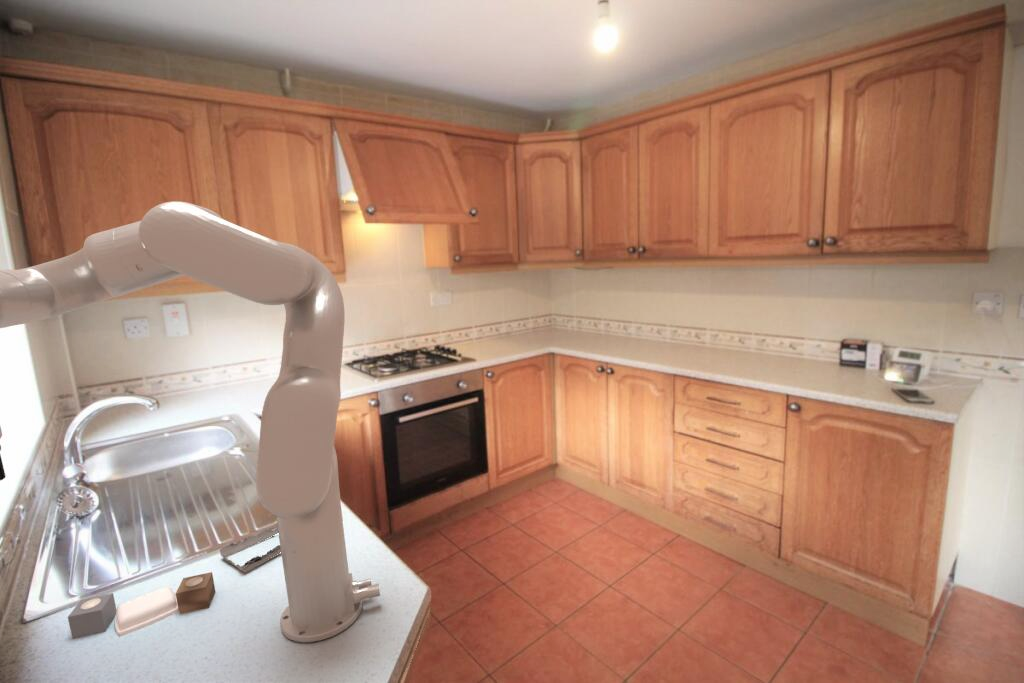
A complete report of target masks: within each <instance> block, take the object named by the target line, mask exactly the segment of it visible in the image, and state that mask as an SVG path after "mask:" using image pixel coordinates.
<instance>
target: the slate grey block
mask: <svg viewBox="0 0 1024 683" xmlns="http://www.w3.org/2000/svg"><path fill="white" fill-rule="evenodd" d="M116 610H117V606H116V600H115V597H114V593H113V592H112V593H108V594H102V595H97V596H93V597H87V598H83V599H81V600H79V602H78V603H77V604H76V606H75V607H74V608H73V610H72V611H71V612H70V613H69V615H68V616H67V620H68V626H69V630H70V634H71V639H72V640H73V639H77V638H82V637H88V636H91V635H96V634H100V633H106V632H107V630H108V628H109V627H110V625H112V623H113V622H114V619H115V615H116Z"/></svg>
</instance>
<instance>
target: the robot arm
mask: <svg viewBox="0 0 1024 683" xmlns="http://www.w3.org/2000/svg"><path fill="white" fill-rule="evenodd" d="M182 277H188V278H191V279H193V280H195V281H198V282H201V283H202V284H206V285H209V286H211V287H214V288H217V289H219V290H222V291H224V292H228V293H230V294H232V295H235V296H238V297H240V298H243V299H245V300H248V301H251V302H253V303H256V304H257V303H258V304H261V305H264V306H265V305H267V306H280V305H283V306H284V309H285V323H284V328H283V335H282V336H283V337H282V352H281V353H282V355H281V360H280V361H281V362H280V368H279V374H278V376H277V379H276V381H274V383H273V384H272V385H271V387H270V389H269V390H268V391H267V394H266V396H265V399H264V402H263V405H262V412H261V418H260V419H261V420H260V428H259V429H260V430H259V442H258V443H259V444H258V452H257V465H256V479H255V489H256V494H257V497H258V499H259V502H260V504H261V505H262V506H263V508H265V510H266V511H268V512H269V513H270V514H272V515H273V516H276V524H277V526H278V532H279V535H278V538H279V539H278V540H279V545H280V547H281V554H280V555H281V561H282V566H283V567H282V568H283V574H284V582H285V589H286V594H287V595H286V596H287V602H288V606H287V607H286V608H285V609H284V611H283V612H282V614H281V617H280V622H279V623H280V629H281V632H282V634H283V635H284V636H285V637H286V638H287V639H289V640H291V641H293V642H294V641H295V642H298V643H314V642H319V641H323V640H326V639H330V638H331V637H333V636H336V635H338V634H340V633H341V632H343V631H345V630H346V629H348V628H349V627H351V625H352V624H353V623H354V622H355V621H357V619H358V617H359V616H360V614H361V612H362V610H363V600H366V599H373V598H378V597H380V596H381V593H380V592H381V590H380V584H379V583H374V584H372V579H371V578H366V579H363V580H360V581H357V580H354V579H353V573H352V572H350V570H349V563H348V561H349V560H348V554H347V547H346V546H347V545H346V538H345V530H344V523H343V521H344V520H343V512H342V511H343V510H342V503H341V502H342V501H341V494H340V492H341V491H340V482H339V467H338V466H339V464H338V457H337V456H338V455H337V452H336V448H335V441H336V440H335V437H336V431H337V430H336V429H337V420H338V419H337V418H338V412H339V407H340V405H341V404H340V403H341V396H342V395H341V394H342V392H341V391H342V390H341V376H342V374H341V372H342V364H343V363H342V361H343V350H344V334H345V322H346V321H345V304H344V298H343V294H342V291H341V288H340V285H339V284H338V282H337V280H336V278H335V276H334V275H333V273H332V272H331V270H330V269H328V267H327V266H326V265H325V264H324V263H323V262H322V261H320V260H319V259H318V258H317V257H316V256H314V255H313V254H312V253H309V252H308V251H306V250H304V249H303V248H302V247H299V246H297V245H295V244H292V243H288V242H281V241H277V240H275V239H272V238H269V237H267V236H264V235H262V234H260V233H256V232H255V231H252V230H250V229H247V228H245V227H243V226H240V225H237V224H235V223H232V222H231V221H229V220H227V219H224V218H223V217H222V216H220V214H218V213H217V212H215V211H213V210H211V209H209V208H206V207H204V206H201V205H196V204H193V203H190V202H185V201H179V200H177V201H175V200H173V201H172V200H171V201H168V202H167V201H166V202H162V203H160V204H157V205H156V206H154V207H152V208H150V209H149V210H148V211H147V212H146V213H145V214H144V216H142V218H141V220H139V221H135V222H133V223H132V222H131V223H129V224H125V225H121V226H118V227H114V228H110V229H107V230H103V231H99V232H96V233H93V234H90V235H89V236H88V237H87V238H85V239H84V242H83V247H82V248H80V249H79V250H78V251H76V252H73V253H71V254H68V255H67V256H63V257H61V258H60V257H59V258H57V259H54V260H51V261H47V262H43V263H40V264H37V265H33V266H28V267H25V268H20V269H0V329H2V328H9V327H14V326H18V325H23V324H24V325H25V324H30V323H31V324H32V323H36V322H41V321H43V320H46V319H50V318H54V317H57V316H60V315H63V314H67V313H70V312H72V311H77V310H79V309H82V308H86V307H89V306H92V305H95V304H98V303H101V302H103V301H106V300H107V301H108V300H111V299H116V298H120V297H122V296H124V295H127V294H132V293H134V292H135V293H136V292H137V291H140V290H143V289H147V288H150V287H153V286H156V285H159V284H162V283H165V282H169V281H172V280H174V279H179V278H182ZM2 437H3V431H2V427H1V426H0V439H1V438H2ZM1 450H2V445H1V444H0V452H1ZM3 464H4V463H3V460H2V456H1V454H0V481H3V480H4V479H5V478H6V473H5V468H4V465H3Z"/></svg>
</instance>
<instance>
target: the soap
mask: <svg viewBox="0 0 1024 683" xmlns="http://www.w3.org/2000/svg"><path fill="white" fill-rule="evenodd" d="M176 613H179V610H178V604H177V599H176V592H174V590H173V588H171V586H165V587H161V588H159V589H156V590H154V591H151V592H148V593H145V594H143V595H140V596H139V597H135V598H133V599H131V600H129V601H126V602H123V603H122V604H119V605H118V606H116V615H115V618H114V619H113V622H114V629H115V632H116V634H117V636H119V637H122V636H125V635H128V634H130V633H133V632H136V631H138V630H140V629H143V628H146V627H148V626H150V625H152V624H156V623H157V622H159V621H162V620H164V619H166V618H168V617H170V616H172V615H174V614H176Z"/></svg>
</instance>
